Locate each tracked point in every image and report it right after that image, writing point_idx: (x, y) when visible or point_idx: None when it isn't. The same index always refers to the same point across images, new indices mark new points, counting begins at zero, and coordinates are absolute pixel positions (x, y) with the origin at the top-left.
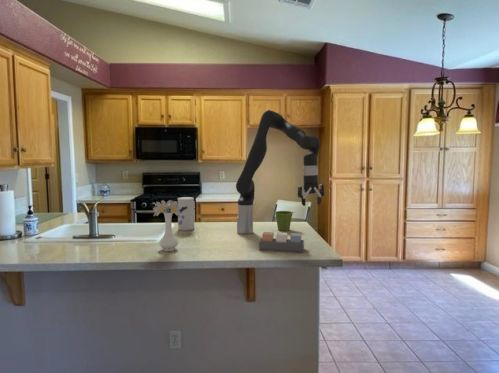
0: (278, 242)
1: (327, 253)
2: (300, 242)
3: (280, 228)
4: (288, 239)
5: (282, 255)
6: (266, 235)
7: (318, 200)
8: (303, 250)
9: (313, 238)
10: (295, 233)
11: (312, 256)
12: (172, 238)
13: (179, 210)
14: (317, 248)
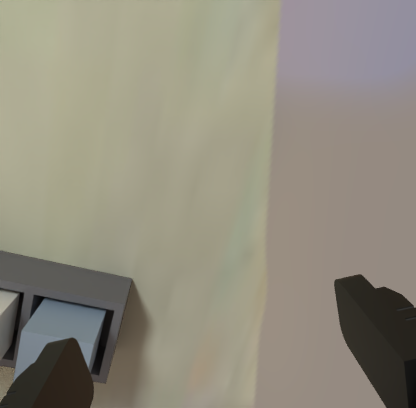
0: None
1: (231, 357)
2: (91, 368)
3: None
4: (23, 291)
5: (7, 385)
6: None
7: (372, 370)
8: (120, 326)
9: (247, 29)
10: (52, 339)
11: (149, 398)
12: None
13: None
14: (207, 275)
